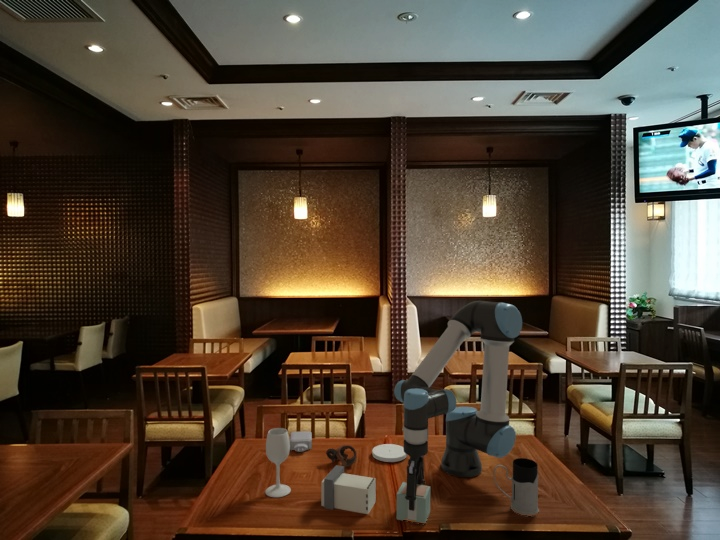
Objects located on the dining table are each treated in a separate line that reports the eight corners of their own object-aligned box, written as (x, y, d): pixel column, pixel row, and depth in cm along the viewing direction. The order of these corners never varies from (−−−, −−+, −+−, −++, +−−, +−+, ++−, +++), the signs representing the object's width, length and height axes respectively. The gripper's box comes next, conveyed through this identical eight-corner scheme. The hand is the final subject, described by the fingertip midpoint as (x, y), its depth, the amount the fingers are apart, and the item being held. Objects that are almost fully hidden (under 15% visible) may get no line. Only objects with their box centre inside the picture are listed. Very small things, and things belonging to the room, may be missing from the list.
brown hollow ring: (353, 458, 191) (359, 444, 187) (352, 478, 182) (357, 464, 178) (325, 451, 190) (329, 438, 186) (321, 471, 181) (326, 457, 178)
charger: (289, 457, 191) (290, 442, 206) (311, 456, 192) (311, 441, 207) (289, 445, 191) (290, 431, 206) (311, 444, 192) (311, 431, 207)
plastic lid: (410, 463, 186) (410, 457, 186) (375, 465, 184) (375, 459, 184) (402, 448, 200) (402, 443, 199) (369, 450, 197) (369, 445, 197)
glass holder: (541, 517, 147) (542, 470, 146) (494, 513, 149) (495, 466, 149) (536, 503, 155) (536, 458, 155) (491, 499, 158) (492, 455, 157)
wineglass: (269, 500, 157) (269, 438, 157) (262, 488, 165) (261, 429, 164) (294, 494, 161) (294, 433, 161) (286, 483, 169) (285, 425, 168)
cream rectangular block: (376, 500, 157) (376, 471, 157) (367, 516, 147) (367, 485, 147) (332, 492, 162) (332, 464, 162) (319, 507, 152) (319, 478, 152)
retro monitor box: (430, 511, 150) (430, 485, 150) (425, 524, 143) (425, 498, 142) (402, 506, 153) (402, 481, 153) (396, 519, 145) (396, 493, 145)
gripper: (411, 426, 158) (411, 493, 159) (395, 451, 138) (395, 527, 139) (433, 429, 155) (433, 497, 156) (420, 455, 136) (420, 532, 136)
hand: (415, 511), depth 148 cm, fingers closed on retro monitor box, 8 cm apart
